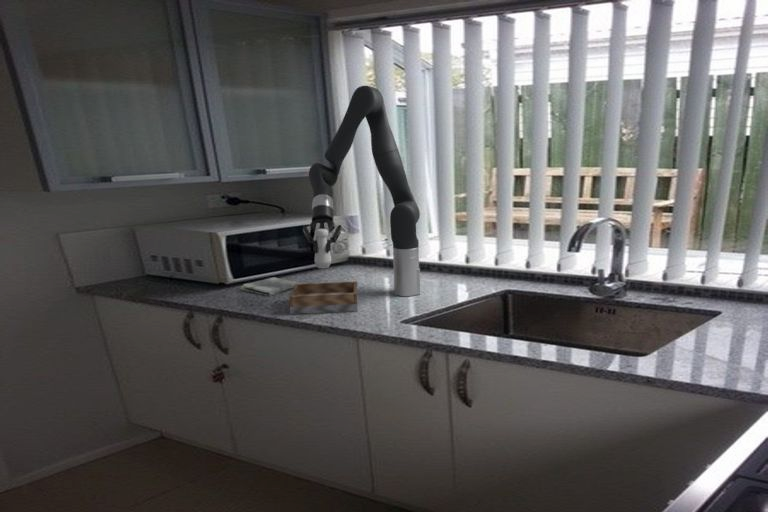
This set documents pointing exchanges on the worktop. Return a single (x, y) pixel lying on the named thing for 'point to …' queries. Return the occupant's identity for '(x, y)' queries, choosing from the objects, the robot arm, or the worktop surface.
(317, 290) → the bore box
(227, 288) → the worktop surface
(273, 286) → the dish towel
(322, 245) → the salt shaker
